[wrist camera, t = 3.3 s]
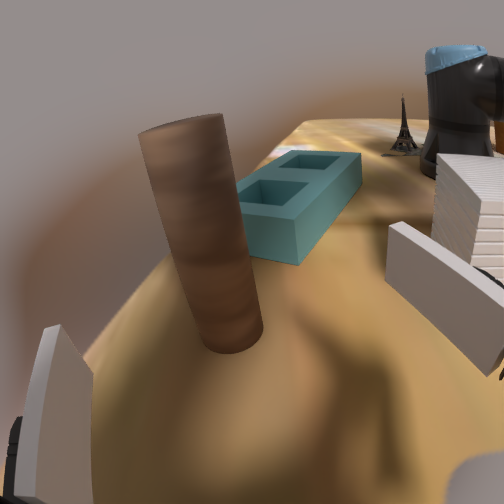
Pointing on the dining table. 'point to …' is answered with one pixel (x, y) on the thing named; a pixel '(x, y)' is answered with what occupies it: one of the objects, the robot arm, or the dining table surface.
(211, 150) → the walnut pin
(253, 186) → the bore block
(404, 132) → the eiffel tower figurine
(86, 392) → the robot arm
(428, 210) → the dining table surface
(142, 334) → the dining table surface
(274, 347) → the dining table surface
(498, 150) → the disposable coffee cup
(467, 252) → the stack of papers
